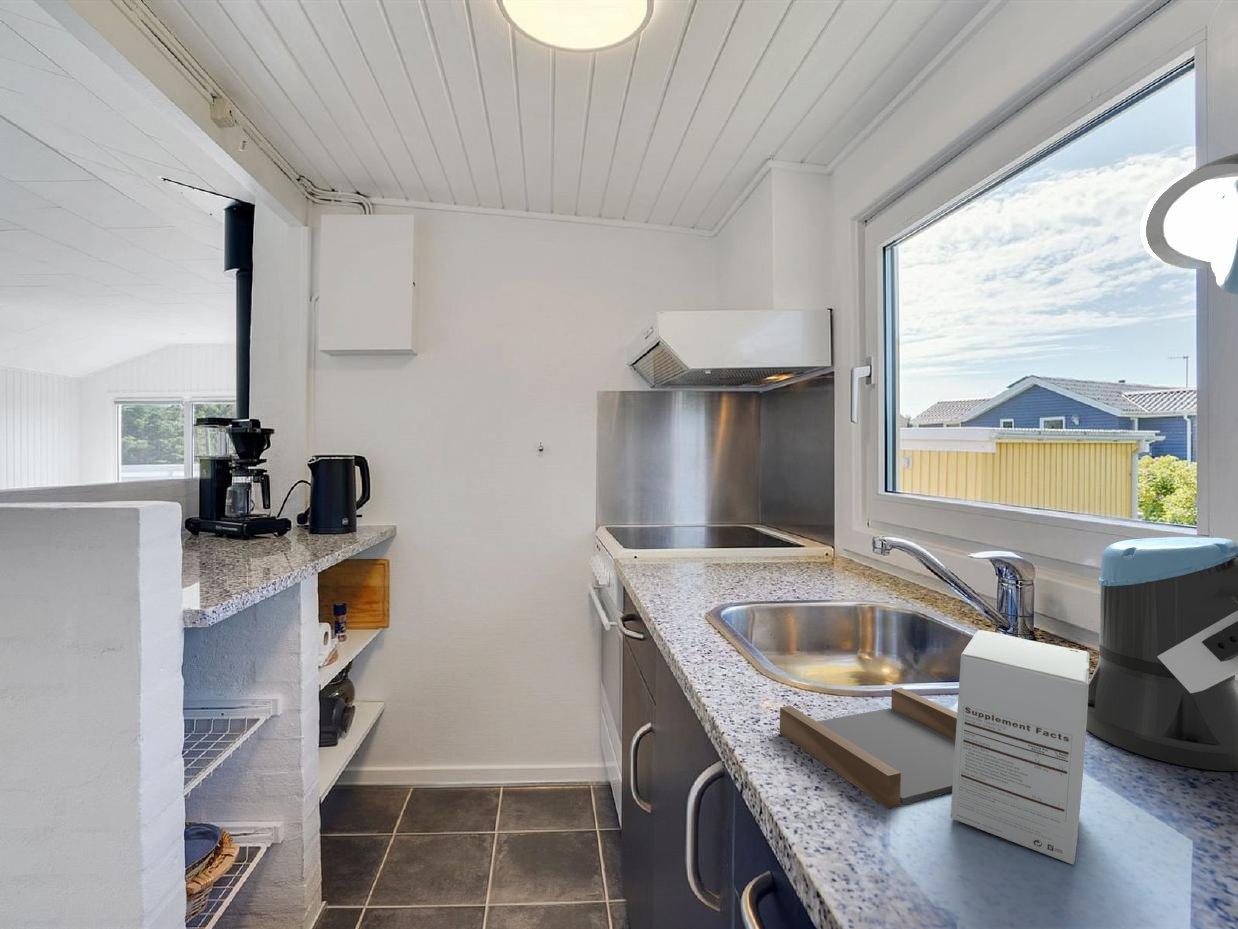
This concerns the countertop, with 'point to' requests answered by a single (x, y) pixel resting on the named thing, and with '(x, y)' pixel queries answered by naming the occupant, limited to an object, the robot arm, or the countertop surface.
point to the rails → (854, 760)
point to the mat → (902, 750)
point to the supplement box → (1021, 741)
